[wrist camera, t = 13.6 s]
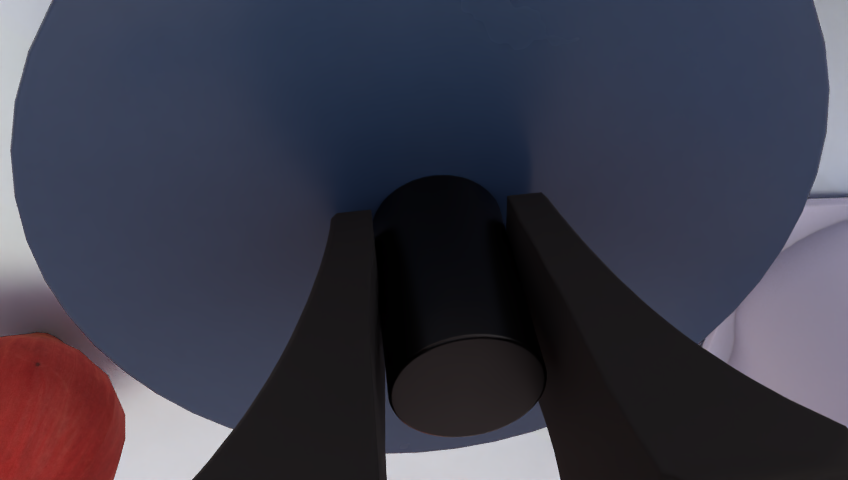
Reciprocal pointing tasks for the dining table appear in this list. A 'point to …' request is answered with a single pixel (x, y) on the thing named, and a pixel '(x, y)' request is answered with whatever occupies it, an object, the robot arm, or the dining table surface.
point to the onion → (56, 413)
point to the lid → (403, 177)
